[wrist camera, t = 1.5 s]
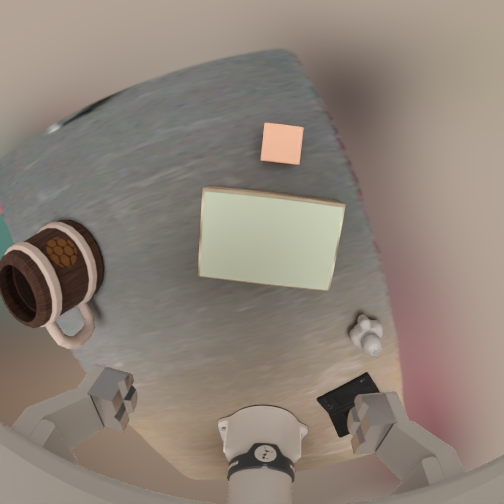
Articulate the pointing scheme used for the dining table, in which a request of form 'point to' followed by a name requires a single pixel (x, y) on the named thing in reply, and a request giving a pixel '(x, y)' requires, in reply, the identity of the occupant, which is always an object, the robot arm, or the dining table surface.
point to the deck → (269, 237)
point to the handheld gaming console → (345, 400)
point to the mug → (52, 279)
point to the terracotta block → (282, 143)
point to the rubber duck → (367, 335)
